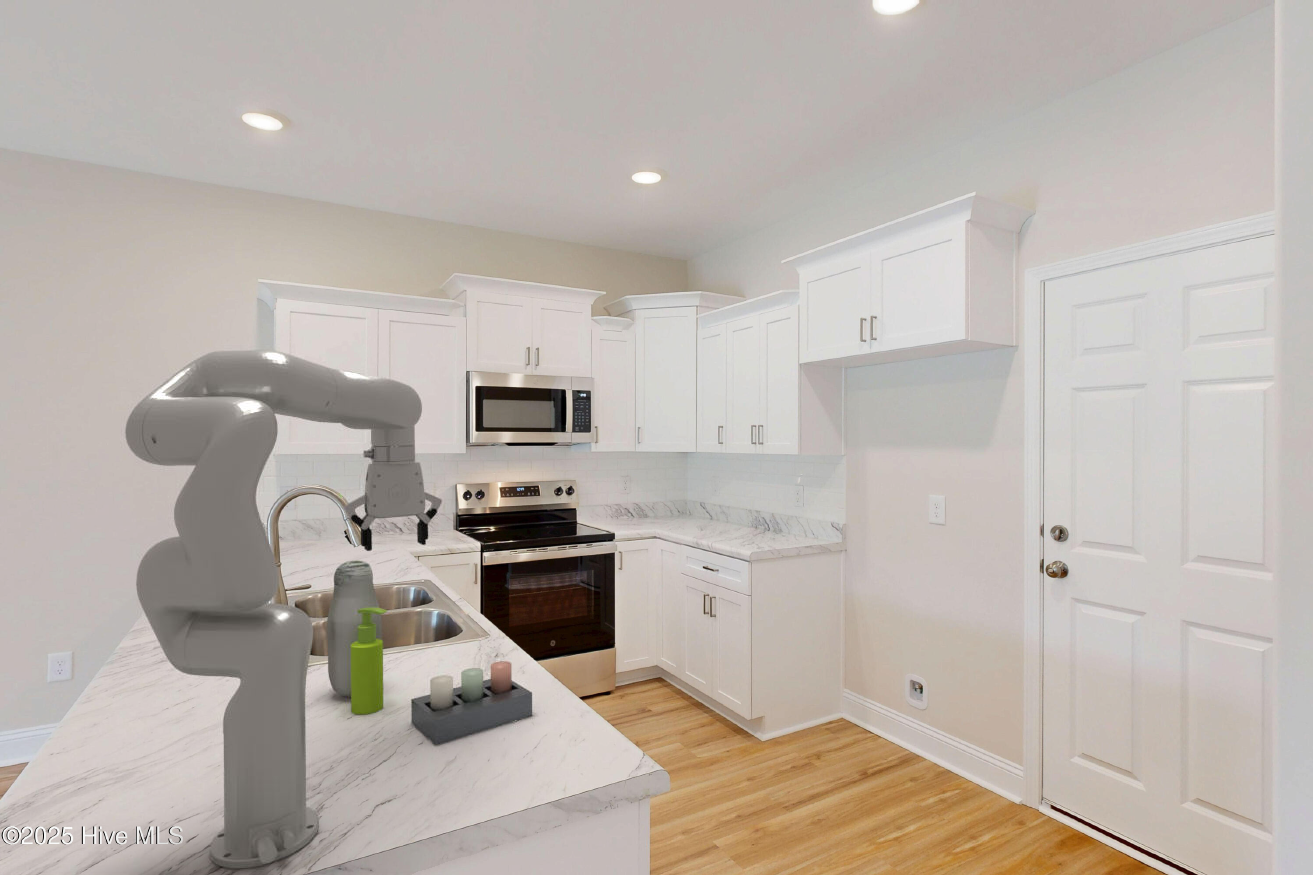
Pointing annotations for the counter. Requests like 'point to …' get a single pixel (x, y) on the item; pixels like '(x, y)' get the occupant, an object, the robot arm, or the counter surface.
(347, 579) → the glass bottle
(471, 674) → the green piece
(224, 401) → the robot arm
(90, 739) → the counter surface
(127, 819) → the counter surface
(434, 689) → the cream rounded cylinder
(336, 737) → the counter surface
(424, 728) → the gray socket block
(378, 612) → the soap dispenser
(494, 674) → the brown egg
